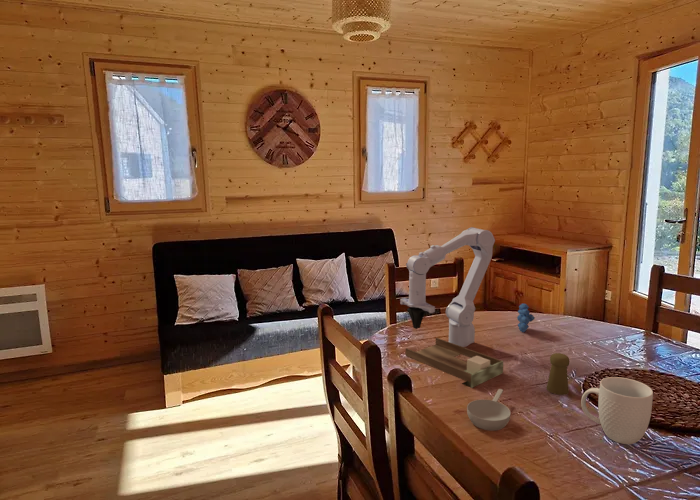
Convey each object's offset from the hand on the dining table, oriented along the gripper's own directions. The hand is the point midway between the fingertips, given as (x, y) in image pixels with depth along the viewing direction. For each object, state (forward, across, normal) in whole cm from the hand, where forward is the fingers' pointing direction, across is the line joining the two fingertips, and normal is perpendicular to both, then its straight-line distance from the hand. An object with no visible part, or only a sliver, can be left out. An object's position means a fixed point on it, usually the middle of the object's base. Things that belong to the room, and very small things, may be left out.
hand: (416, 327), depth 165 cm
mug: (+10, +67, -1) cm, 68 cm away
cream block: (+8, +25, +1) cm, 27 cm away
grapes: (+10, +13, +49) cm, 52 cm away
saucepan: (+10, +42, -16) cm, 46 cm away
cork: (+10, +46, +11) cm, 48 cm away
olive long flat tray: (+9, +15, +1) cm, 18 cm away
